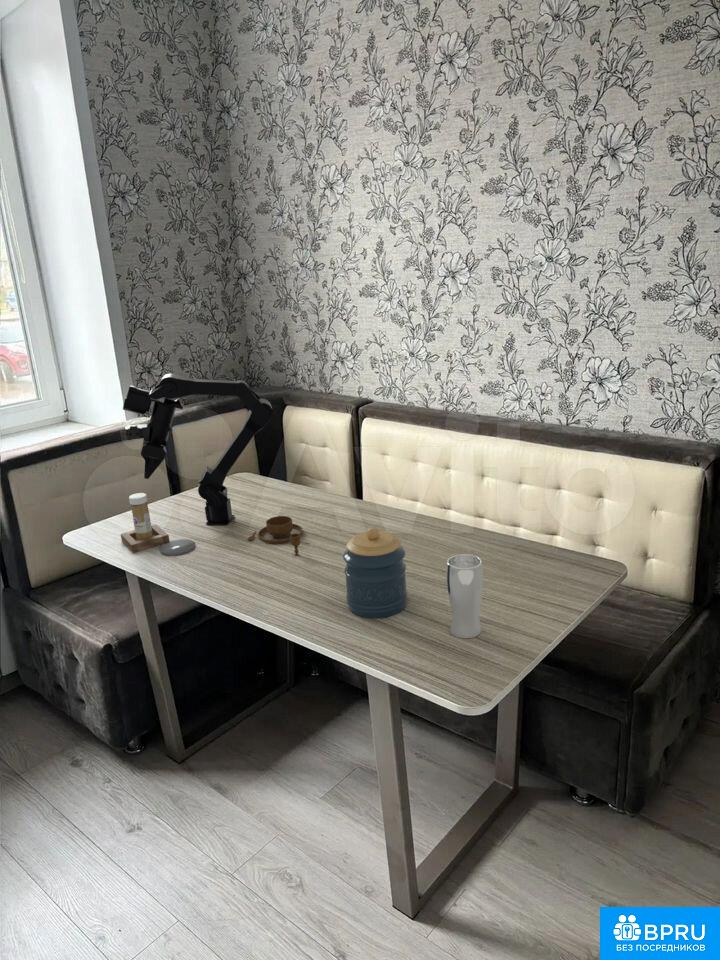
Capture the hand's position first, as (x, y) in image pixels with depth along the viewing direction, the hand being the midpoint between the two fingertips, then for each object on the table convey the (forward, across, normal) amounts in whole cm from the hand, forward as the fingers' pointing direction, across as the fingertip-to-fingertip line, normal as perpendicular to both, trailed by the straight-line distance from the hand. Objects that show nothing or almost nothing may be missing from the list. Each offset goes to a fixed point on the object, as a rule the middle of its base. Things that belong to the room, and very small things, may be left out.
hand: (146, 473), depth 201 cm
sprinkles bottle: (+17, +7, +4) cm, 19 cm away
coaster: (+13, +15, +12) cm, 24 cm away
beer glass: (-6, +80, +64) cm, 102 cm away
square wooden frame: (+16, +7, +4) cm, 19 cm away
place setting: (+4, +21, +36) cm, 42 cm away
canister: (-1, +63, +51) cm, 81 cm away
